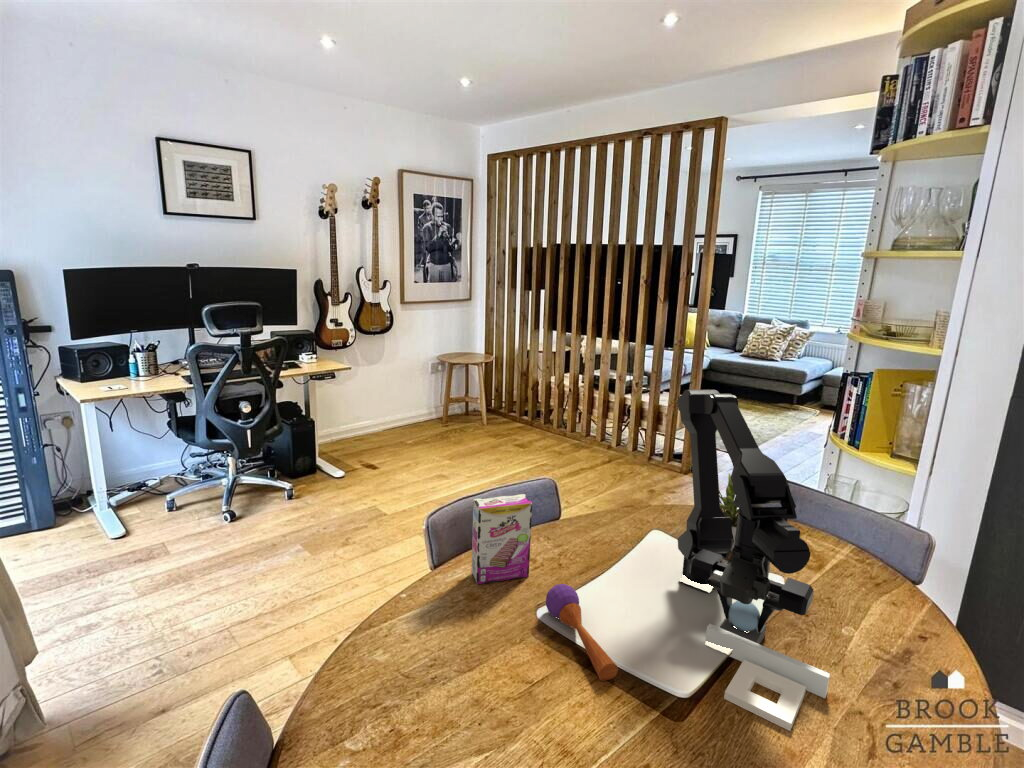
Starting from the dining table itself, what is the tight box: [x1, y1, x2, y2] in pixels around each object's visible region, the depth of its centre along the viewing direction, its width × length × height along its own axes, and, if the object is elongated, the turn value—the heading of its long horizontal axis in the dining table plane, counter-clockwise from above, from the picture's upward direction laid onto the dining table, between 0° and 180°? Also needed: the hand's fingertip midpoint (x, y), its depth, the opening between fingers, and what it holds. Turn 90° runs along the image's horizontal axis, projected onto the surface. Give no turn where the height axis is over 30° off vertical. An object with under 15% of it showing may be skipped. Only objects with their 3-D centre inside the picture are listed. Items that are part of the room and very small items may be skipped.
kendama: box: [545, 583, 619, 682], centre depth 94 cm, size 6×6×20 cm
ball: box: [729, 600, 761, 632], centre depth 95 cm, size 5×5×5 cm
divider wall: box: [705, 623, 831, 699], centre depth 88 cm, size 18×1×4 cm, turn 51°
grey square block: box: [719, 618, 767, 645], centre depth 96 cm, size 6×6×2 cm
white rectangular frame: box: [723, 660, 807, 732], centre depth 82 cm, size 9×9×1 cm
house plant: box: [719, 472, 739, 552], centre depth 127 cm, size 14×14×16 cm
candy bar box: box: [471, 493, 533, 585], centre depth 111 cm, size 11×5×16 cm, turn 108°
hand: (743, 624), depth 95 cm, fingers closed on ball, 5 cm apart
